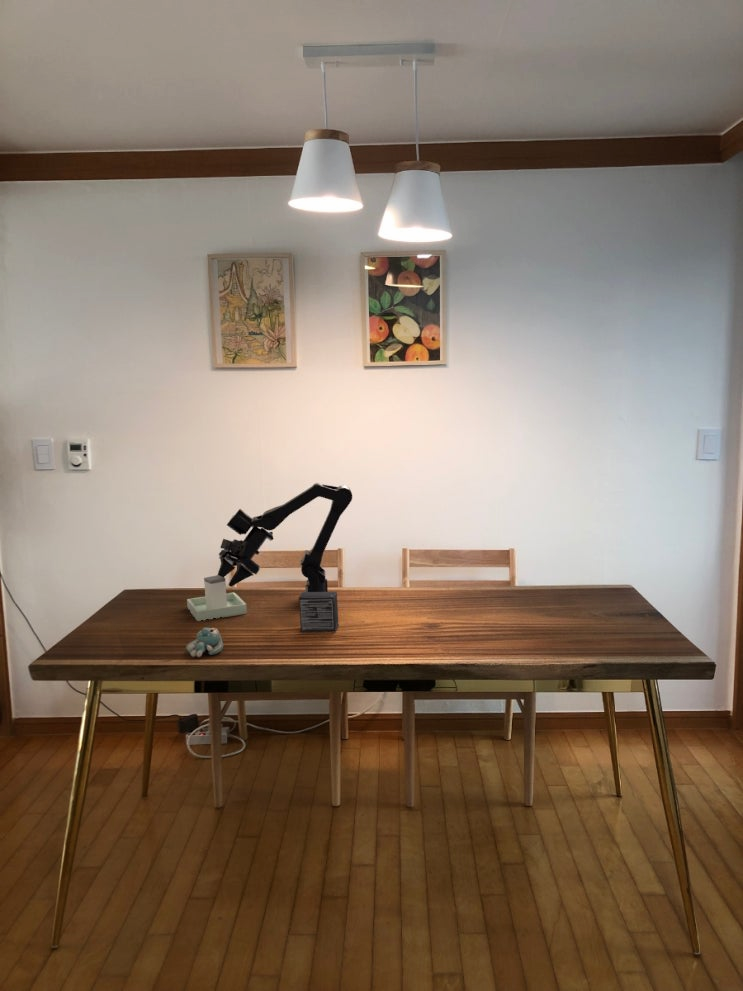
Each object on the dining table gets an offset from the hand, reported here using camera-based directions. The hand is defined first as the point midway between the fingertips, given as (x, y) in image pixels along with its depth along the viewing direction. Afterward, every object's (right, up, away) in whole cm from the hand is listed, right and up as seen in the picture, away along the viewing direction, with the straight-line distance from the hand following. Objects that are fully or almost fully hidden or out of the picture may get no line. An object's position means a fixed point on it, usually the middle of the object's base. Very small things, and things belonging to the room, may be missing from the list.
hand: (223, 583), depth 255 cm
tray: (-2, -9, 0) cm, 9 cm away
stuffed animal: (+2, -15, -37) cm, 40 cm away
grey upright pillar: (-2, -8, 0) cm, 8 cm away
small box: (+32, -11, -21) cm, 40 cm away
